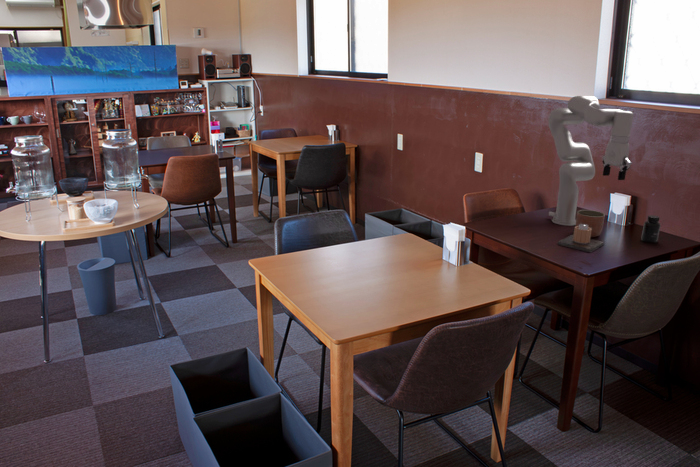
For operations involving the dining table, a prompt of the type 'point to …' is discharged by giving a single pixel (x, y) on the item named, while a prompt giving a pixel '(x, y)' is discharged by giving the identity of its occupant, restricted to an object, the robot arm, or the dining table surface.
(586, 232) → the wooden mug
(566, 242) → the cylinder on square base
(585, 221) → the planter
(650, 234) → the supplement bottle
